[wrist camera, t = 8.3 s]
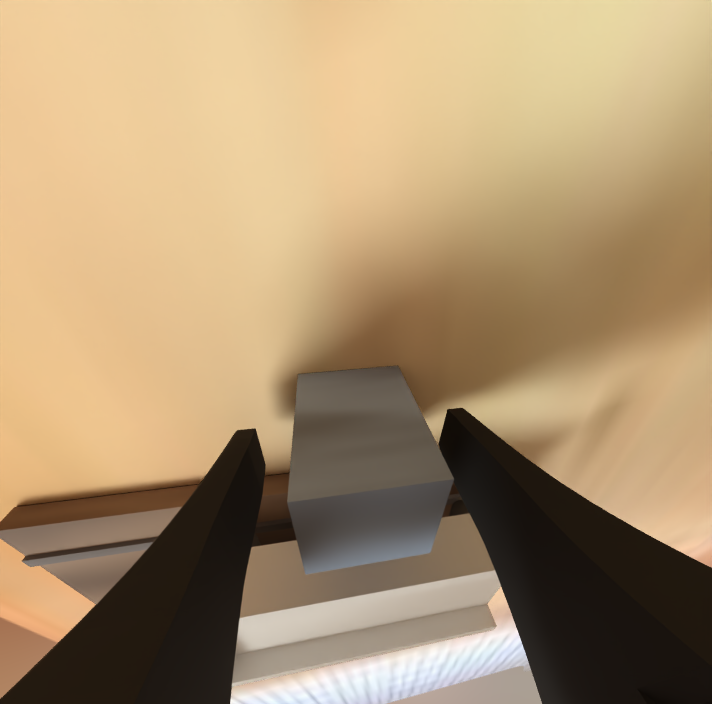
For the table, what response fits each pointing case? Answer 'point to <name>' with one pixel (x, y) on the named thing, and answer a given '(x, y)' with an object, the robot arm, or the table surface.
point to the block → (363, 470)
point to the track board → (124, 531)
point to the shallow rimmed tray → (361, 603)
